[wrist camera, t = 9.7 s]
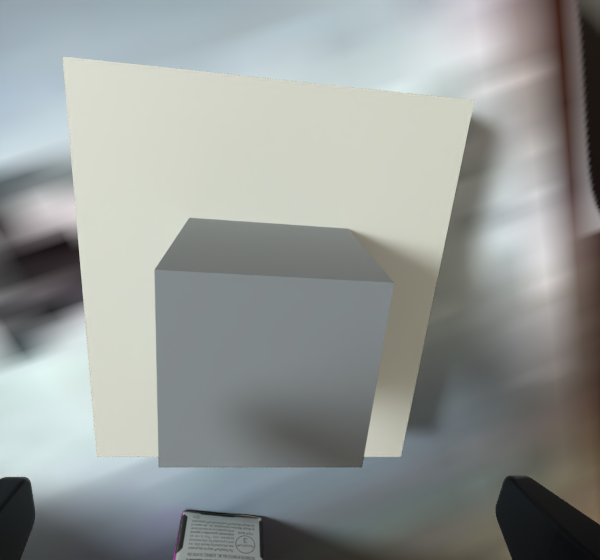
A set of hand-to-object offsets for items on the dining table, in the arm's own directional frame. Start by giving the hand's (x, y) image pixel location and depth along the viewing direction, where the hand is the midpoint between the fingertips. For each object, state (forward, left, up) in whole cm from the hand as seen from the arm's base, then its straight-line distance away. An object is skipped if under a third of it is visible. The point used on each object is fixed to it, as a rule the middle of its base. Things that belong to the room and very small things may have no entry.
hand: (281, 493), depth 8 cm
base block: (0, 0, -13) cm, 13 cm away
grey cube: (0, 0, -10) cm, 10 cm away
